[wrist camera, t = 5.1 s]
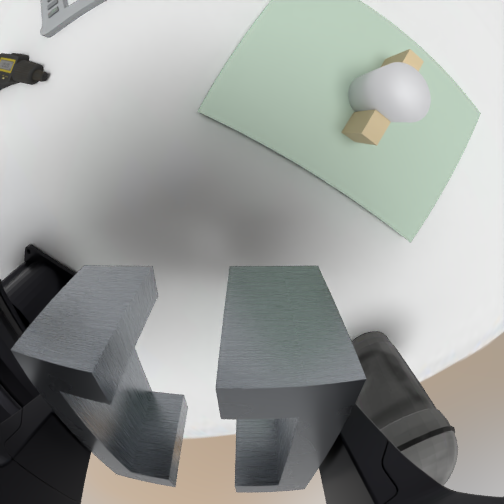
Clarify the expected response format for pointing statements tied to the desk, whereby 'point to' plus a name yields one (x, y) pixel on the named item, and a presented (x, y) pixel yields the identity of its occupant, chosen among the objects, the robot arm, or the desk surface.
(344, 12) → the keyed post stand
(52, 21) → the office telephone
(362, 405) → the beverage cup
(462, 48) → the desk surface
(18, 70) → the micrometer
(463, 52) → the desk surface
